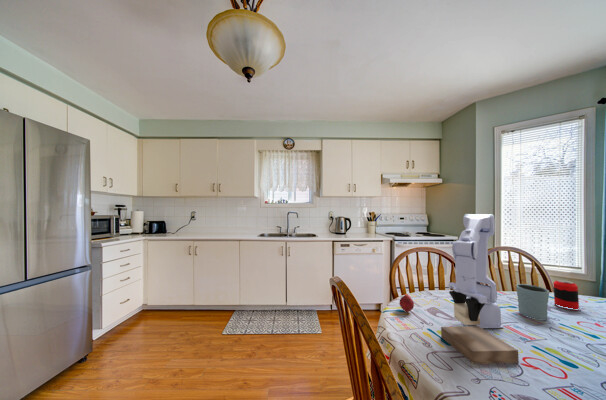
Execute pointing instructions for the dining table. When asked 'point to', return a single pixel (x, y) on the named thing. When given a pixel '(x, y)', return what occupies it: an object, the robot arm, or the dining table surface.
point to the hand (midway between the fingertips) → (466, 316)
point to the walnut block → (479, 345)
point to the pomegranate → (406, 303)
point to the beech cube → (464, 314)
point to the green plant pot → (532, 301)
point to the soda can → (566, 294)
